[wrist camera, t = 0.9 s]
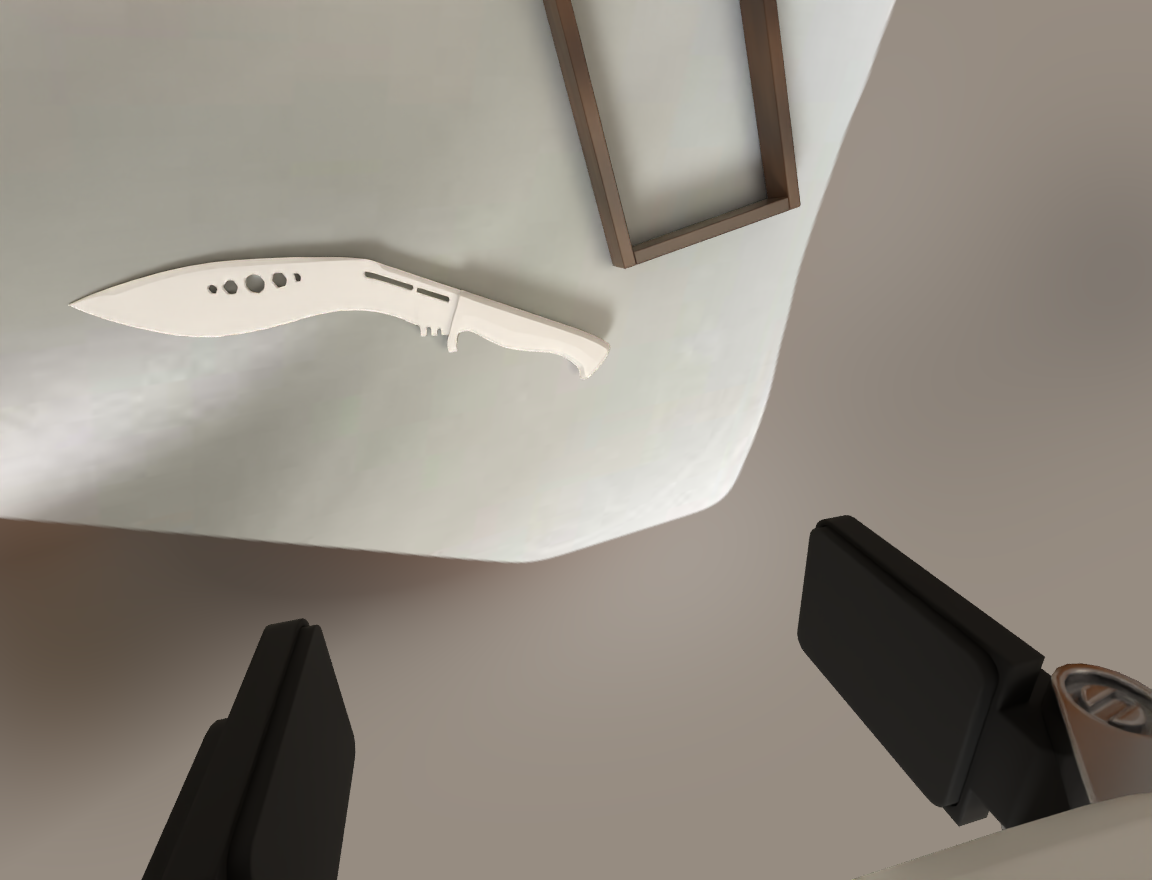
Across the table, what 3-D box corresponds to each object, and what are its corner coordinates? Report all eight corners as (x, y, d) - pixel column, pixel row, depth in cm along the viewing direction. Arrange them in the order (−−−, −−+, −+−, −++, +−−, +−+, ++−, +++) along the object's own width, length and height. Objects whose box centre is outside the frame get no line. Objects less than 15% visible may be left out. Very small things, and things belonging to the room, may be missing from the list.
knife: (57, 311, 29) (66, 159, 27) (77, 307, 31) (87, 163, 29) (576, 449, 38) (616, 342, 36) (571, 440, 40) (609, 337, 37)
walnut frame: (482, -226, 26) (486, -268, 24) (713, -287, 27) (737, -333, 25) (613, 266, 36) (624, 269, 34) (779, 207, 37) (801, 206, 35)
